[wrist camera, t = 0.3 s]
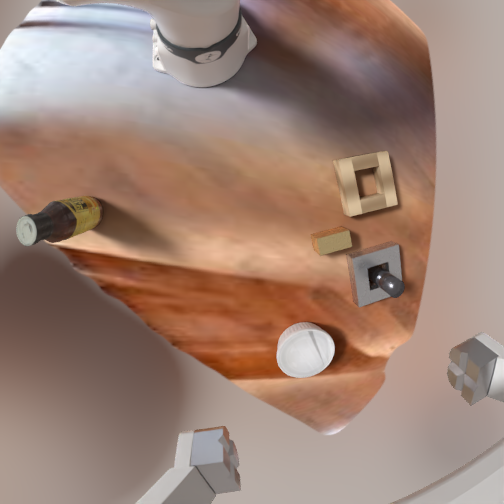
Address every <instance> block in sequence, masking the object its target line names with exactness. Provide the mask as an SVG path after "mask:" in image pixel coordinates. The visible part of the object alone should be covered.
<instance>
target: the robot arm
mask: <svg viewBox="0 0 504 504" xmlns="http://www.w3.org/2000/svg"><path fill="white" fill-rule="evenodd" d="M56 1H58V2H60V3H63V4H65V5H69V6H80V5H86V4H95V3H113V4H121V5H127V6H131V7H135V8H138V9H141V10H143V11H146V12H148V13H149V14H150V15H151V17H152V18H153V19H151V20H150V25H151V29H152V30H154V33H153V68H154V69H155V70H156V71H158V72H162V73H167V74H169V75H171V76H172V77H174V78H175V79H176V80H178V81H179V82H181V83H183V84H186V85H189V86H193V87H209V86H214V85H217V84H220V83H223V82H225V81H226V80H228V79H229V78H231V77H232V76H233V75H234V74H235V73H236V72H237V71H238V70H239V69H240V67H241V66H242V64H243V62H244V59H245V57H246V55H247V54H248V53H249V52H250V51H251V50H252V49H253V48H254V47H255V46H256V44H257V39H256V37H255V36H254V34H253V32H252V31H251V29H250V27H249V25H248V24H247V22H246V21H245V19H244V18H243V16H242V13H241V8H240V0H56ZM158 58H159V60H158ZM449 358H450V359H451V363H450V365H449V366H448V372H447V375H448V379H449V382H450V383H451V385H452V386H453V388H454V389H456V390H461V396H462V397H463V398H464V399H465V400H466V401H467V402H468V403H469V404H470V405H473V404H475V403H476V402H478V401H479V400H481V399H483V398H484V397H486V396H487V395H488V397H490V398H493V399H496V400H499V401H502V402H504V346H502V345H501V344H500V343H498V342H497V341H495V340H494V339H492V338H491V337H490V336H488V335H487V334H486V333H484V332H480V333H478V334H477V335H475V336H473V337H472V338H470V339H468V340H466V341H465V342H463V343H461V344H459V345H457V346H455V347H454V348H452V349H451V351H450V354H449ZM238 466H239V458H238V454H237V449H236V446H235V444H234V442H233V441H232V440H230V439H229V432H228V430H227V428H226V427H225V426H221V427H214V428H207V429H199V430H194V431H185V432H181V433H180V435H179V438H178V444H177V451H176V458H175V465H174V468H170V469H169V470H168V471H167V472H166V473H165V474H164V475H163V476H162V477H161V478H160V479H159V480H158V481H157V482H156V483H155V484H154V485H153V486H152V487H151V488H150V489H149V490H148V491H147V493H145V494H144V495H143V497H141V498H140V499H139V500H138V501H137V502H136V503H135V504H211V503H212V501H213V499H214V498H215V496H216V494H220V493H227V492H234V491H240V490H241V488H240V487H241V486H240V475H239V473H238V471H237V467H238ZM390 504H504V438H502V439H501V440H500V441H498V442H497V443H496V444H494V445H493V446H492V447H491V448H489V449H487V450H486V451H485V452H483V453H482V454H480V455H479V456H477V457H476V458H474V459H473V460H471V461H470V462H468V463H467V464H465V465H464V466H462V467H460V468H459V469H457V470H455V471H454V472H452V473H450V474H448V475H447V476H445V477H443V478H441V479H440V480H438V481H436V482H434V483H432V484H430V485H429V486H426V487H425V488H423V489H421V490H419V491H417V492H414V493H412V494H410V495H408V496H406V497H404V498H402V499H399V500H397V501H395V502H393V503H390Z"/></svg>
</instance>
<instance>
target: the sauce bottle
mask: <svg viewBox="0 0 504 504" xmlns="http://www.w3.org/2000/svg"><path fill="white" fill-rule="evenodd" d="M102 215H103V210H102V206H101V204H100V202H99V201H98V200H97V199H95V198H94V197H91V196H81V197H75V198H69V199H63V200H58V201H53V202H51V203H49V204H48V205H47V206H46V207H45V208H44V209H43V210H42V211H41V212H39V213H37V214H34V215H32V214H28V215H25V216H23V217H21V218H20V220H19V221H18V223H17V228H16V231H17V236H18V238H19V241H20V242H21V243H22V244H23V245H25V246H31V245H34V244H36V243H38V242H39V241H40V240H47V241H49V242H52V243H54V242H60V241H62V240H66V239H69V238H71V237H73V236H76V235H78V234H81V233H84V232H86V231H88V230H91V229H93V228H94V227H95V226H97V225H98V224H99V223H100V221H101V219H102Z"/></svg>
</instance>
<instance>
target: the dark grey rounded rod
mask: <svg viewBox="0 0 504 504" xmlns="http://www.w3.org/2000/svg"><path fill="white" fill-rule="evenodd" d="M367 270H368V278H369V279H370V280H371V281H372V282H374V283H375V284H376V285H377V286H379V287H380V288H381V289H383V290H384V291H385V292H386V293H388V294H389V295H390V296H391V297H393V298H397V297H399V296H400V295H401V294H402V293H403V291H404V288H405V286H404V283H403V281H401V280H400V279H398V278H397V277H395V276H394V275H392V274H391V273H389V272H387V271H386V270H384V269H383V268H381V267H380V266H378V265H376V266H373V267H370V268H367Z"/></svg>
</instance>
